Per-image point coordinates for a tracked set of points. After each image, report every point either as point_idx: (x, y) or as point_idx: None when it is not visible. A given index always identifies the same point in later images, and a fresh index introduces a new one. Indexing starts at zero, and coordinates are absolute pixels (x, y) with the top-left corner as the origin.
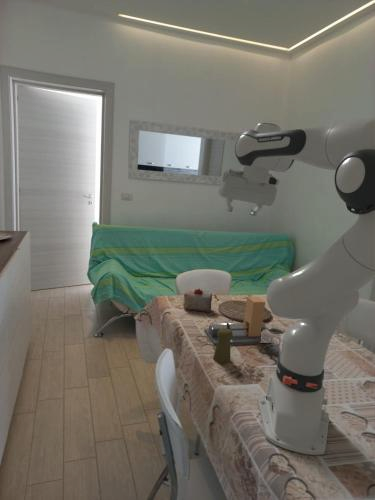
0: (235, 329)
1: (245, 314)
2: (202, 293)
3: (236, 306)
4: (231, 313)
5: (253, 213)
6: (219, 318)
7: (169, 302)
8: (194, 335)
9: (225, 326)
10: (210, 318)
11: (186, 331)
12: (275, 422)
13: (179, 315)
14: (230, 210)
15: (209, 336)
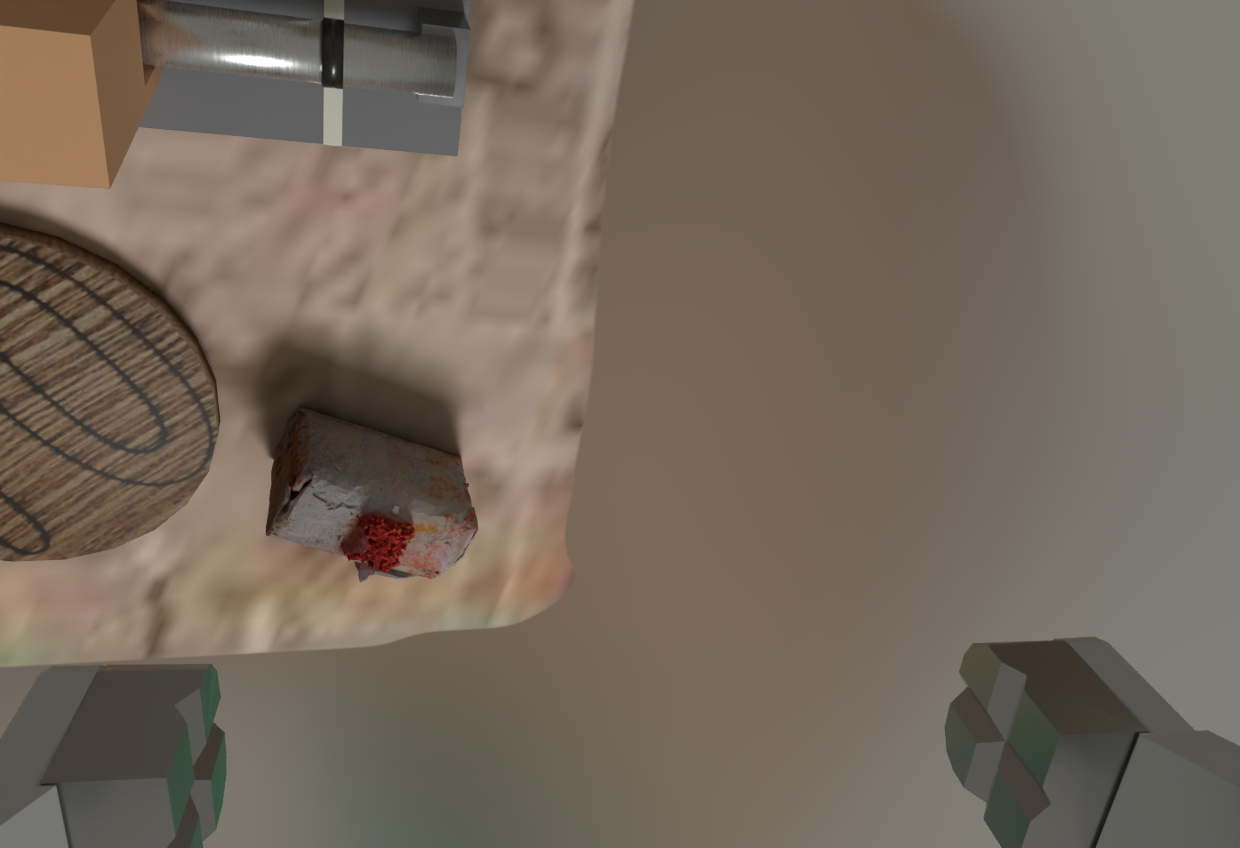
0: (266, 13)
1: (138, 110)
2: (350, 527)
3: (55, 465)
4: (147, 357)
5: (167, 711)
6: (259, 323)
7: (514, 547)
8: (546, 103)
9: (358, 36)
10: (328, 328)
11: (574, 166)
12: None
13: (525, 382)
14: (1063, 654)
15: None
